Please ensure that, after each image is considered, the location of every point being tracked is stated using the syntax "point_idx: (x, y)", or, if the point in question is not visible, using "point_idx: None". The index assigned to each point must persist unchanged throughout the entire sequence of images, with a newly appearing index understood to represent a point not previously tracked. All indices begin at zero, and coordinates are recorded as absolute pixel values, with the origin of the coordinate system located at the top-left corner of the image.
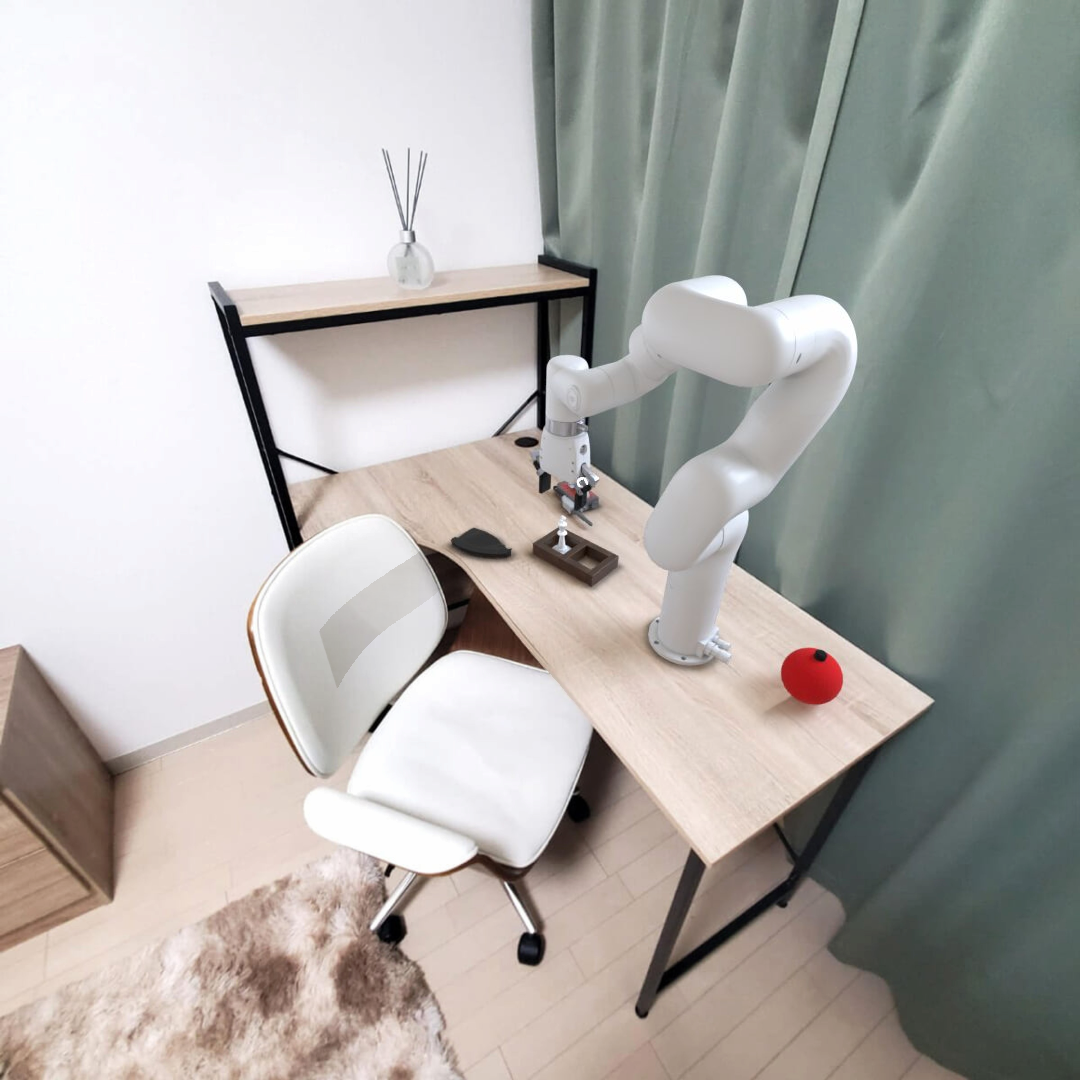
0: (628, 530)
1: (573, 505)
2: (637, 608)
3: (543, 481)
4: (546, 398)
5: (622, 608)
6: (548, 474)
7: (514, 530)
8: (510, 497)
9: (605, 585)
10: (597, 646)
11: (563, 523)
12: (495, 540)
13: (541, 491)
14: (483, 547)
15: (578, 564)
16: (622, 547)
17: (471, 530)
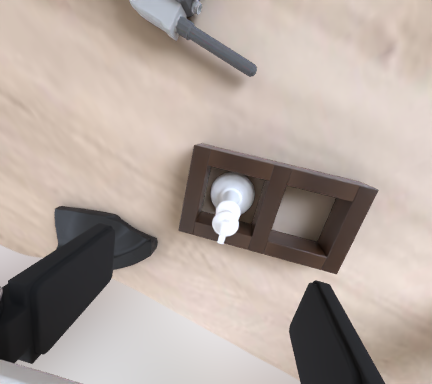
0: (352, 15)
1: (171, 13)
2: (427, 274)
3: (64, 322)
4: None
5: (397, 283)
6: (33, 304)
7: (114, 169)
8: (21, 53)
9: None
10: (374, 358)
11: (229, 228)
12: (110, 223)
13: (103, 286)
14: None
15: (295, 254)
16: (354, 105)
17: (58, 218)
